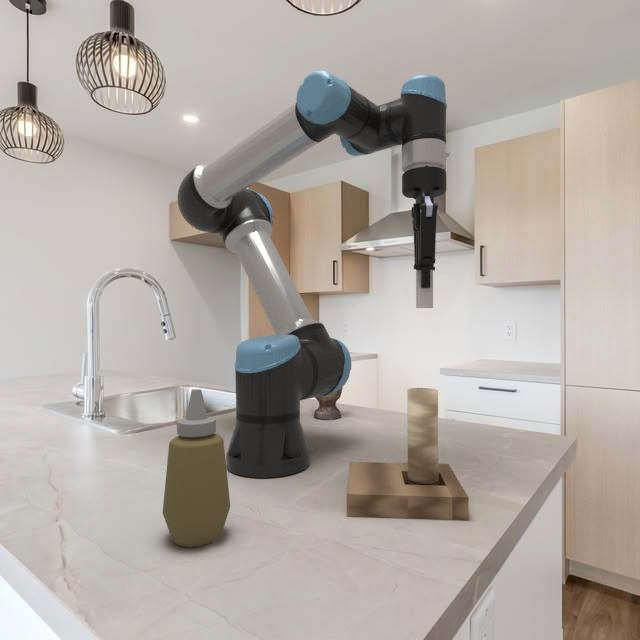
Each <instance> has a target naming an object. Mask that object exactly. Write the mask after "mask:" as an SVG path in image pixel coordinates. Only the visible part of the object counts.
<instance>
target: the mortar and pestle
mask: <svg viewBox="0 0 640 640" xmlns="http://www.w3.org/2000/svg"><path fill="white" fill-rule="evenodd" d="M343 387H344V386H343ZM343 387H342V388H341V389H339V390H338V391H336V392H333V393H330V394H329V395H327V396H318V397H314V398H315V399H316V400H317V402H318V404H319V406H318V407H317V409H315V411H314V413H313V417H314V418H316V419H321V420H328V421H333V420H335V419H339V418H341V417H342V414H341V411H340V410H339V409H340V408H338V406H337V405H336V404H337V401H338V400H339V399H341V396H342V392H343V389H344V388H343Z"/></svg>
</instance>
